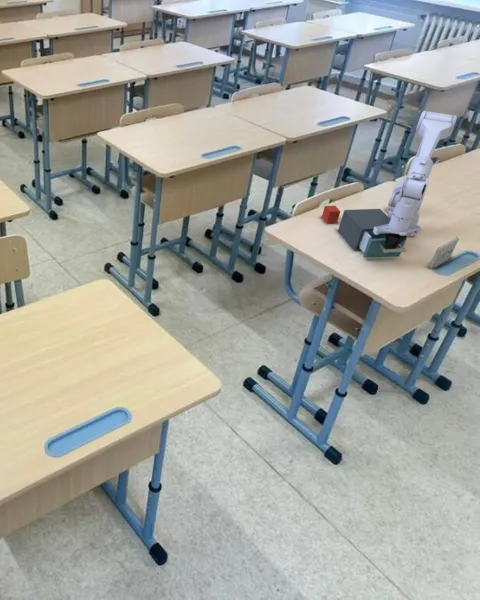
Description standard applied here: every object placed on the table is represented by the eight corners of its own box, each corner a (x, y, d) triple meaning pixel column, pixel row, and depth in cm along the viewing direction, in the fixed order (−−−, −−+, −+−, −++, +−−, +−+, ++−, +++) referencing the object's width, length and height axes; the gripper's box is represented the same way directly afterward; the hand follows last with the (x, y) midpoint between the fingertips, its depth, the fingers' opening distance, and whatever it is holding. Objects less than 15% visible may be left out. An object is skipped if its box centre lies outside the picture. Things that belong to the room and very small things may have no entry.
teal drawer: (406, 264, 182) (414, 247, 178) (371, 266, 181) (378, 248, 177) (381, 237, 195) (387, 220, 191) (348, 238, 195) (354, 221, 191)
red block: (331, 217, 209) (335, 205, 206) (336, 223, 206) (340, 211, 203) (321, 217, 209) (324, 205, 206) (326, 223, 205) (329, 211, 202)
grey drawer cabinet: (391, 249, 191) (399, 227, 186) (354, 250, 190) (361, 229, 185) (372, 229, 202) (380, 208, 197) (337, 230, 201) (344, 209, 196)
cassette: (432, 269, 181) (441, 249, 176) (426, 266, 182) (435, 247, 178) (451, 258, 186) (461, 238, 182) (446, 255, 188) (455, 236, 183)
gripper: (386, 222, 170) (372, 259, 178) (432, 220, 171) (416, 257, 179) (375, 211, 176) (362, 247, 184) (420, 209, 176) (405, 246, 184)
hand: (388, 251), depth 182 cm, fingers closed, pressing on teal drawer
